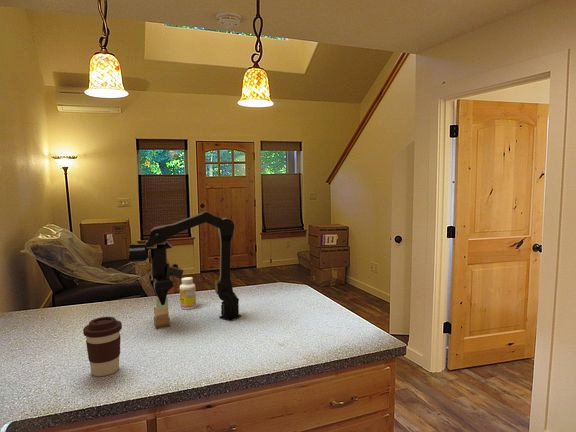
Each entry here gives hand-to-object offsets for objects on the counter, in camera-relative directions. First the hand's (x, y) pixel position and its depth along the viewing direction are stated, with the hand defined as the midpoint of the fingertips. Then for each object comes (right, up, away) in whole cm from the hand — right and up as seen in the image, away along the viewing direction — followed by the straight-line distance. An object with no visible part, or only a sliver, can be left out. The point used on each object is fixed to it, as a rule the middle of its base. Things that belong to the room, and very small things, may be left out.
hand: (160, 301), depth 145 cm
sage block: (0, -3, 0) cm, 3 cm away
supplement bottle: (+5, -8, +22) cm, 23 cm away
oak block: (0, -6, +1) cm, 6 cm away
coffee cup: (-5, -13, -34) cm, 36 cm away
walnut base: (0, -10, +1) cm, 10 cm away
